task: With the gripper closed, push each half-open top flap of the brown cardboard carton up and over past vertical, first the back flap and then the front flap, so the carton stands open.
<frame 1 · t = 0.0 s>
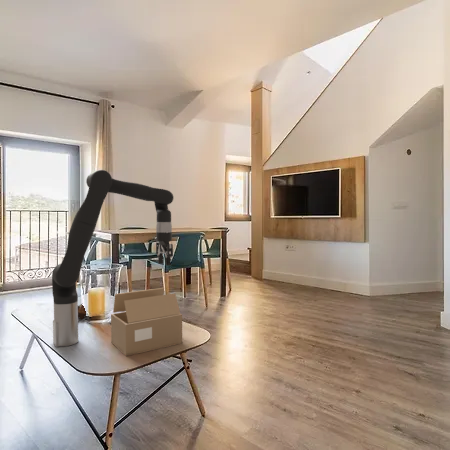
hand: (164, 264, 174), 29 cm above the table, tool pointing down, fingers open, 8 cm apart
decorative turtle: (86, 318, 186), on the table
far flap: (139, 299, 154), point 17 cm above the table, hinge at 70.0°
wedge on round base: (121, 323, 176), on the table
carton: (146, 342, 149), on the table
near flap: (152, 307, 143), point 16 cm above the table, hinge at 60.0°
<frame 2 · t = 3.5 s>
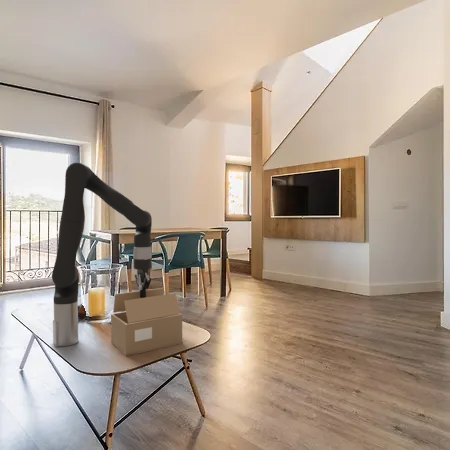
hand: (142, 298, 151), 18 cm above the table, tool pointing down, fingers closed
far flap: (139, 299, 154), point 17 cm above the table, hinge at 70.2°, touching gripper
everything else where it was.
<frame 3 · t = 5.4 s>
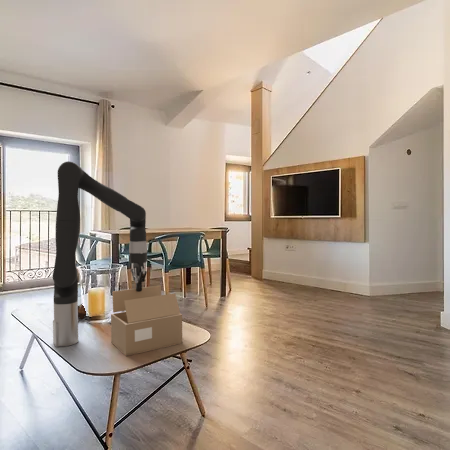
hand: (139, 291, 155), 20 cm above the table, tool pointing down, fingers closed
far flap: (138, 298, 156), point 17 cm above the table, hinge at 94.7°, touching gripper
everything else where it was.
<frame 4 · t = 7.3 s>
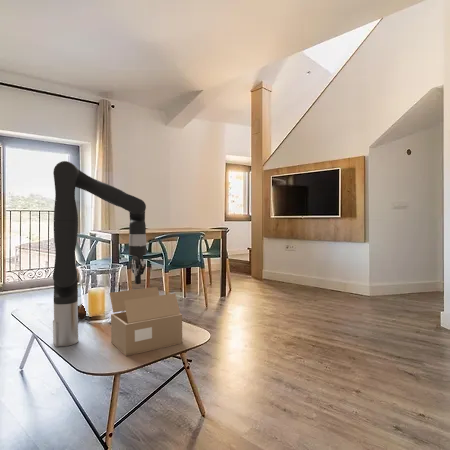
hand: (137, 283, 156), 23 cm above the table, tool pointing down, fingers closed
far flap: (136, 299, 158), point 16 cm above the table, hinge at 122.0°
everything else where it was.
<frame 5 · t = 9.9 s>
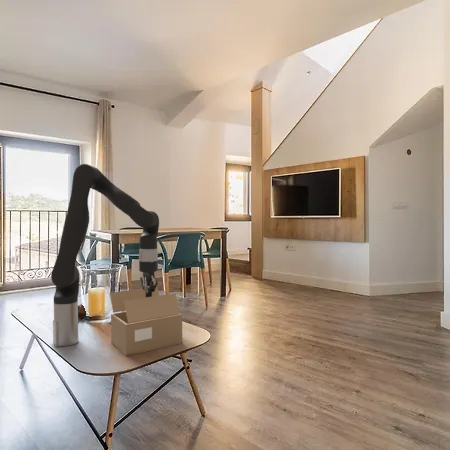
hand: (148, 301, 146), 18 cm above the table, tool pointing down, fingers closed
near flap: (152, 307, 143), point 16 cm above the table, hinge at 60.3°, touching gripper
everything else where it was.
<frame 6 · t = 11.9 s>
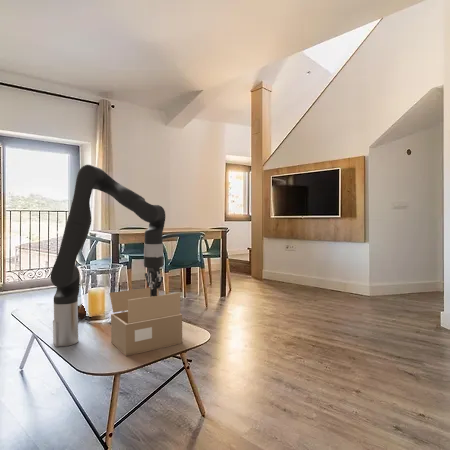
hand: (153, 298, 142), 20 cm above the table, tool pointing down, fingers closed
near flap: (155, 307, 141), point 17 cm above the table, hinge at 91.3°, touching gripper
everything else where it was.
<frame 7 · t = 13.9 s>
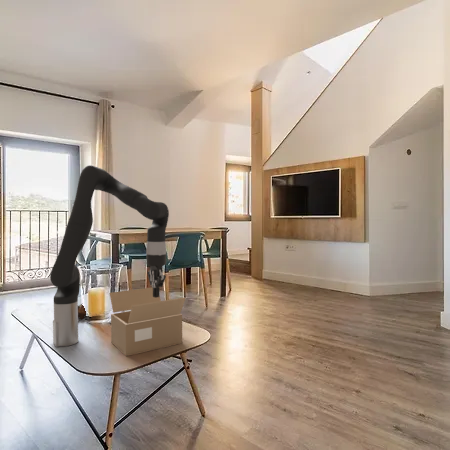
hand: (156, 297, 139), 21 cm above the table, tool pointing down, fingers closed
near flap: (157, 310, 139), point 16 cm above the table, hinge at 121.9°
everything else where it was.
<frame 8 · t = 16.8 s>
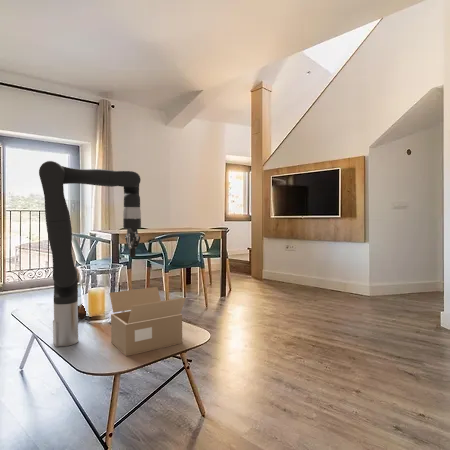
hand: (132, 257, 156), 35 cm above the table, tool pointing down, fingers closed
near flap: (157, 310, 139), point 16 cm above the table, hinge at 122.3°
everything else where it was.
at the end: far flap at +122° (first picture: +70°); near flap at +122° (first picture: +60°) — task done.
